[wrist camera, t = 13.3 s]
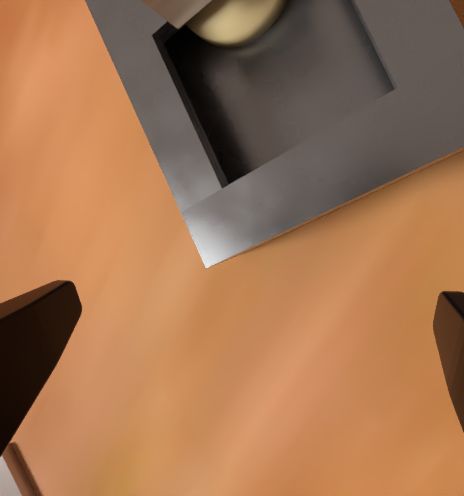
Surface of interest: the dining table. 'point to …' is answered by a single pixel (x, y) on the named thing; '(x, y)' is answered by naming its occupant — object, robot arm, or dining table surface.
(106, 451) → the dining table surface
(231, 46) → the keyhole post
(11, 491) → the play button award
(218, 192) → the keyhole plate
